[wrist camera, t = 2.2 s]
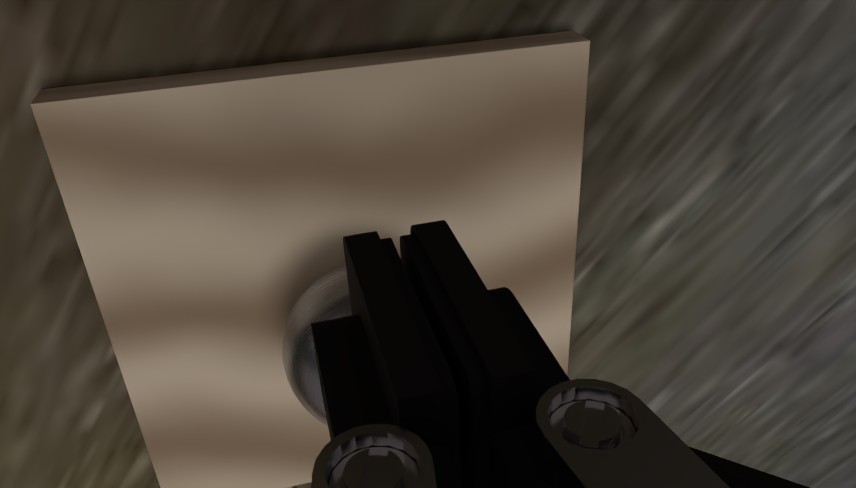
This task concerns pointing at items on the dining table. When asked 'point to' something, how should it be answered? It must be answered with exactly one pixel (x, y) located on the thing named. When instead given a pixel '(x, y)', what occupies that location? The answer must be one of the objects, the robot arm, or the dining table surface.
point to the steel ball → (298, 348)
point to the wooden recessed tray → (304, 218)
